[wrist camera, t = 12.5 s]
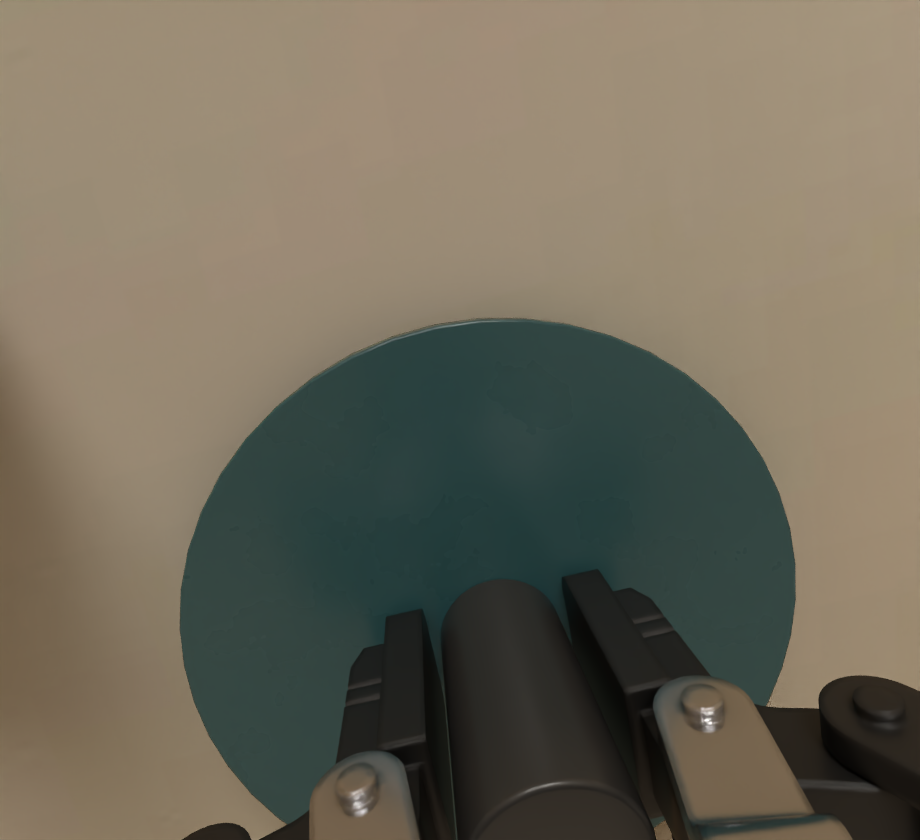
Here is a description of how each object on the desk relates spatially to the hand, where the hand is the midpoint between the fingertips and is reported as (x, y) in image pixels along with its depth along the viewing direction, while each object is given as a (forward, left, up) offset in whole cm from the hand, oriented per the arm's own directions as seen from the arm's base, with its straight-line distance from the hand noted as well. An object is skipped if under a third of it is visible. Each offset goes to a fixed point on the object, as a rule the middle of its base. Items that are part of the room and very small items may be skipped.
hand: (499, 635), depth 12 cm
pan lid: (0, 0, -1) cm, 1 cm away
